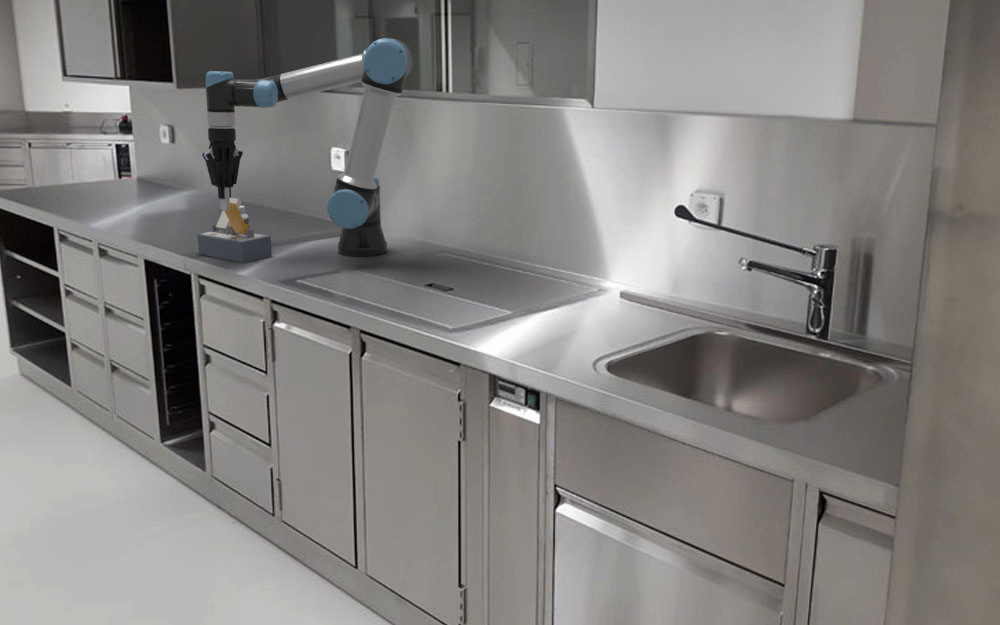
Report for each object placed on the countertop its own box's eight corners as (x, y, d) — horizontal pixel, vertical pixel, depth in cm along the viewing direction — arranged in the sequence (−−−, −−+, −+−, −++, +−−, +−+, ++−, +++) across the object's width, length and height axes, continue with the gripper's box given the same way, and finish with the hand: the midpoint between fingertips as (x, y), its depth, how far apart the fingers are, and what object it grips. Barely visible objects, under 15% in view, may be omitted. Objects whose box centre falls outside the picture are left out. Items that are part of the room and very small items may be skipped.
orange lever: (251, 233, 275) (236, 203, 269) (247, 236, 274) (232, 206, 268) (238, 231, 278) (223, 201, 272) (235, 234, 277) (220, 204, 271)
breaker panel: (272, 256, 279) (270, 227, 276) (243, 263, 270) (240, 234, 268) (228, 247, 290) (225, 220, 287) (199, 254, 281) (196, 226, 279)
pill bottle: (244, 245, 293) (241, 208, 290) (225, 244, 295) (222, 208, 291) (253, 240, 300) (251, 205, 296) (235, 239, 301) (232, 204, 297)
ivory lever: (229, 233, 280) (243, 201, 282) (225, 230, 278) (239, 199, 281) (217, 230, 283) (231, 199, 285) (213, 228, 281) (227, 197, 284)
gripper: (230, 125, 270) (233, 206, 276) (194, 127, 260) (198, 210, 266) (248, 127, 266) (251, 208, 272) (212, 128, 256) (216, 213, 262)
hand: (225, 209), depth 269 cm, fingers closed
